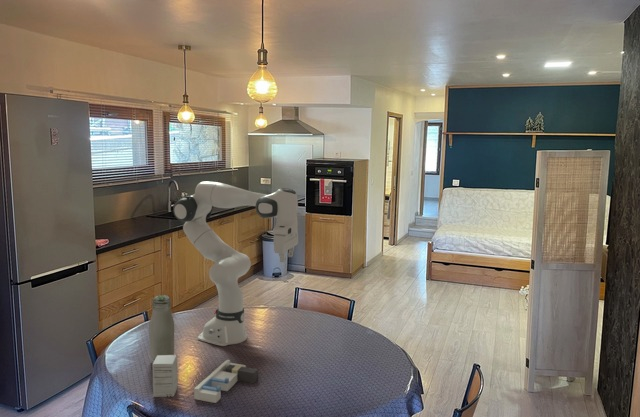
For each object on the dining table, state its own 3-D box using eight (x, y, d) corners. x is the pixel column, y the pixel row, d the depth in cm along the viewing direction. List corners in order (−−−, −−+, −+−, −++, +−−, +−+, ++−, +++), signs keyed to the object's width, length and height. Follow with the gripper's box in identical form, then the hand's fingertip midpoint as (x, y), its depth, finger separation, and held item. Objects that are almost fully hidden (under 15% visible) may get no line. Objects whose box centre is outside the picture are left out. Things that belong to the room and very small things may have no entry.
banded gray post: (225, 378, 186) (225, 368, 185) (229, 373, 189) (229, 364, 189) (253, 383, 182) (253, 373, 182) (257, 378, 186) (257, 368, 185)
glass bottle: (152, 368, 193) (150, 301, 189) (148, 358, 202) (146, 293, 198) (177, 363, 197) (175, 297, 193) (172, 353, 206) (171, 290, 202)
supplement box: (157, 387, 178) (156, 354, 176) (178, 386, 179) (177, 354, 177) (152, 397, 171) (151, 364, 169) (174, 396, 172) (173, 363, 170)
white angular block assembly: (194, 399, 170) (194, 386, 170) (226, 369, 193) (226, 358, 192) (215, 403, 168) (215, 390, 167) (246, 372, 191) (245, 361, 190)
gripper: (288, 222, 212) (288, 253, 214) (270, 230, 193) (270, 264, 194) (302, 223, 210) (301, 254, 212) (285, 231, 191) (285, 265, 193)
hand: (286, 259), depth 203 cm, fingers open, 8 cm apart
